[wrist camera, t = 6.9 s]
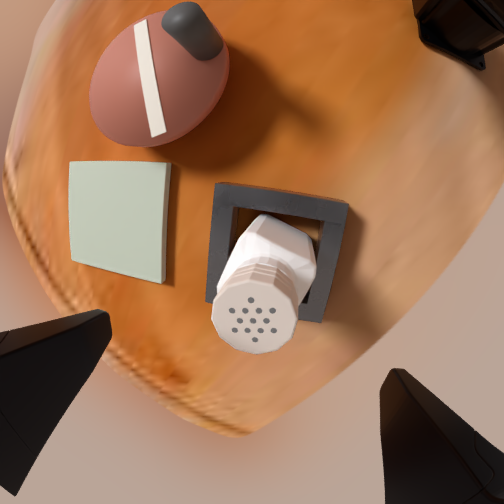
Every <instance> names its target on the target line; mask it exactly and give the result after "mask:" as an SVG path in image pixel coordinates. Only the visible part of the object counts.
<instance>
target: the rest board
mask: <svg viewBox="0 0 504 504" xmlns="http://www.w3.org/2000/svg"><path fill="white" fill-rule="evenodd" d="M171 164H172V163H165V162H142V161H74V162H70V167H69V232H70V247H71V258H72V260H73V261H76V262H80V263H83V264H87V265H90V266H94V267H97V268H101V269H105V270H109V271H112V272H116V273H120V274H124V275H128V276H132V277H136V278H140V279H144V280H148V281H152V282H156V283H160V284H162V283H163V282H164V281H165V280H166V238H167V216H168V199H169V186H170V174H171Z"/></svg>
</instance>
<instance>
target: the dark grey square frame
mask: <svg viewBox="0 0 504 504" xmlns="http://www.w3.org/2000/svg"><path fill="white" fill-rule="evenodd" d="M348 206H349V204H348V203H346V202H345V201H343V200H338V199H333V198H328V197H322V196H317V195H311V194H305V193H299V192H293V191H287V190H281V189H274V188H267V187H260V186H253V185H246V184H238V183H229V182H220V183H215V190H214V199H213V210H212V220H211V231H210V243H209V256H208V269H207V284H206V300H205V302H208V303H212V304H213V300H214V299H215V297H216V295H217V285H218V282H219V280H220V278H221V275H222V273H223V271H224V269H225V266H226V264H227V262H228V260H229V258H230V256H231V254H232V251H233V249H234V247H235V239H236V230H237V222H238V213H239V207H242V208H249V209H255V210H262V211H269V212H275V213H281V214H287V215H293V216H299V217H305V218H311V219H317V220H321V222H320V228H319V233H318V238H317V244H316V249H315V254H314V255H315V260H316V266H317V267H316V276H315V278H314V280H313V282H312V284H311V286H310V288H309V290H308V291H307V293H306V295H305V297H304V298H303V300H302V302H301V303H300V305H299V306H298V320H305V321H311V322H318V323H321V322H322V319H323V315H324V311H325V308H326V304H327V300H328V297H329V293H330V289H331V285H332V281H333V277H334V273H335V268H336V264H337V260H338V256H339V251H340V246H341V242H342V237H343V232H344V227H345V222H346V217H347V212H348Z"/></svg>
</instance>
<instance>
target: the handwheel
mask: <svg viewBox="0 0 504 504" xmlns="http://www.w3.org/2000/svg"><path fill="white" fill-rule="evenodd" d="M229 69H230V57H229V52H228V48H227V45H226V43H225V41H224V39H223V37H222V36H221V34H220V33H219V31H218V30H217V28H216V27H215V26H214V25H213V23H212V22H211V21H210V20H209V19H208V17H207V16H206V14H205V13H204V12H203V10H202V9H201V7H200V6H199V5H198V4H197V3H194V2H183V3H179V4H177V5H175V6H173V7H172V8H170V9H169V10H167V11H161V12H157V13H154V14H151V15H148V16H146V17H144V18H142V19H140V20H138V21H136V22H134V23H133V24H131V25H130V26H128V27H127V28H126V29H124V30H123V31H122V32H121V33H120V34H119V35H118V36H117V37H116V38H115V39H114V40H113V41H112V42H111V43H110V44H109V46H108V47H107V48H106V50H105V51H104V53H103V54H102V56H101V57H100V59H99V61H98V63H97V65H96V68H95V70H94V73H93V76H92V80H91V85H90V93H89V101H90V109H91V113H92V116H93V119H94V121H95V123H96V125H97V127H98V128H99V129H100V131H101V132H102V133H103V134H104V135H105V136H106V137H108V138H109V139H111V140H112V141H114V142H117V143H119V144H123V145H127V146H137V147H154V146H160V145H163V144H167V143H170V142H172V141H174V140H177V139H179V138H181V137H182V136H184V135H186V134H187V133H189V132H190V131H191V130H193V129H194V128H195V127H197V126H198V125H199V124H200V123H201V122H202V121H203V120H204V119H205V118H206V117H207V116H208V115H209V114H210V112H211V111H212V110H213V108H214V107H215V106H216V104H217V103H218V101H219V99H220V97H221V96H222V94H223V91H224V89H225V86H226V84H227V80H228V76H229Z"/></svg>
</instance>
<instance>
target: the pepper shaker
mask: <svg viewBox="0 0 504 504" xmlns="http://www.w3.org/2000/svg"><path fill="white" fill-rule="evenodd" d="M316 267H317V266H316V260H315V255H314V250H313V245H312V240H311V238H310V237H309V236H308V235H307V234H306V233H304V232H302V231H300V230H298V229H296V228H294V227H292V226H290V225H288V224H286V223H284V222H282V221H280V220H278V219H276V218H274V217H272V216H270V215H268V214H260V215H259V216H258V217H257V218H256V219H255V220H254V221H253V222H252V223H251V225H250V226H249V227H248V228H247V229H246V230H245V232H244V233H243V234H242V235H241V236H240V237H239V239H238V241H237V243H236V245H235V247H234V249H233V251H232V254H231V256H230V258H229V260H228V262H227V264H226V266H225V269H224V271H223V273H222V275H221V278H220V280H219V282H218V285H217V295H216V297H215V299H214V300H213V308H212V317H211V320H212V322H213V324H214V326H215V328H216V330H217V332H218V334H219V336H220V338H222V339H223V340H224V341H225V342H227V343H228V344H229V345H231V346H232V347H233V348H235V349H236V350H240V351H244V352H248V353H252V354H262V353H267V352H272V351H277V350H278V349H279V348H281V347H282V346H283V345H284V344H285V343H287V342H288V341H289V340H290V339H291V338H292V337H293V334H294V331H295V328H296V324H297V321H298V306H299V305H300V303H301V302H302V300H303V298H304V297H305V295H306V293H307V291H308V290H309V288H310V286H311V284H312V282H313V280H314V278H315V276H316Z"/></svg>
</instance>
